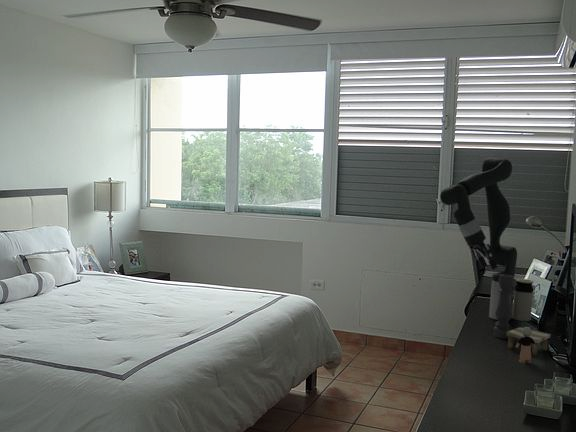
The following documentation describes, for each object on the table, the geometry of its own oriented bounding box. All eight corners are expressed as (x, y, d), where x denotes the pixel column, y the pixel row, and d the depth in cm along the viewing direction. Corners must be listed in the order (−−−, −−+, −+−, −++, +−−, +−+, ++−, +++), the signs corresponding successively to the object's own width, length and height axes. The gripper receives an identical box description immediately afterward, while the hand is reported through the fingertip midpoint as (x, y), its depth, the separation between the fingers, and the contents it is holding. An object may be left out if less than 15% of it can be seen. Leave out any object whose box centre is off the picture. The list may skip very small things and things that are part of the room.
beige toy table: (518, 342, 239) (519, 327, 239) (549, 349, 231) (550, 334, 230) (505, 347, 231) (506, 332, 230) (536, 355, 222) (538, 339, 222)
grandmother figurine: (528, 359, 218) (531, 324, 217) (536, 363, 214) (539, 327, 213) (511, 361, 215) (514, 326, 214) (519, 364, 211) (522, 329, 210)
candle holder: (509, 339, 242) (515, 277, 240) (493, 337, 244) (498, 276, 242) (509, 335, 248) (514, 275, 246) (493, 333, 250) (498, 273, 248)
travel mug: (533, 322, 272) (536, 282, 270) (515, 321, 272) (518, 281, 271) (526, 317, 280) (530, 279, 278) (509, 316, 280) (512, 278, 278)
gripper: (488, 227, 234) (506, 264, 235) (472, 227, 248) (489, 262, 249) (471, 236, 233) (490, 273, 234) (456, 235, 247) (474, 271, 248)
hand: (490, 267), depth 241 cm, fingers open, 8 cm apart
